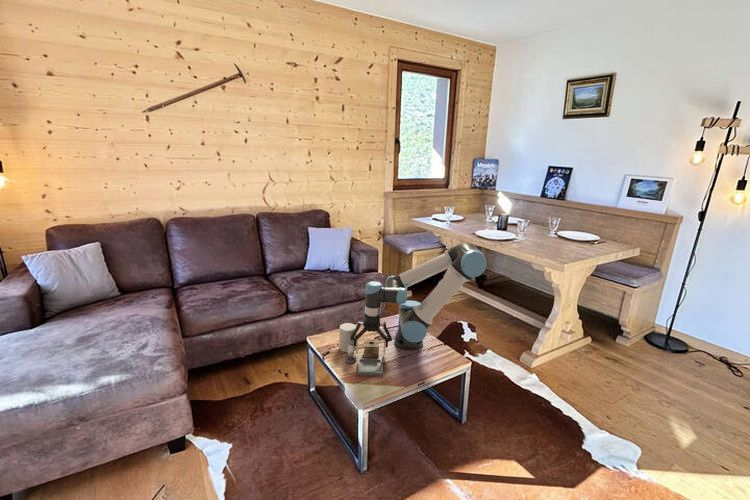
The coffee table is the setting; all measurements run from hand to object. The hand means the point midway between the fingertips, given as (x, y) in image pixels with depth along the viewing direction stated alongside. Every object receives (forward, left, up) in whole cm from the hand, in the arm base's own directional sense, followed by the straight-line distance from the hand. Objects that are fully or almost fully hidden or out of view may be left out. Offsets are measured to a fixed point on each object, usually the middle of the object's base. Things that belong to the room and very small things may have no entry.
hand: (370, 352), depth 186 cm
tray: (0, +11, -2) cm, 11 cm away
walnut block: (0, 0, -2) cm, 2 cm away
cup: (+12, -7, -2) cm, 14 cm away
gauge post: (+10, +5, -2) cm, 11 cm away
